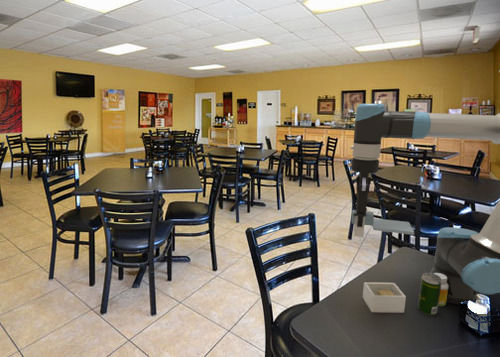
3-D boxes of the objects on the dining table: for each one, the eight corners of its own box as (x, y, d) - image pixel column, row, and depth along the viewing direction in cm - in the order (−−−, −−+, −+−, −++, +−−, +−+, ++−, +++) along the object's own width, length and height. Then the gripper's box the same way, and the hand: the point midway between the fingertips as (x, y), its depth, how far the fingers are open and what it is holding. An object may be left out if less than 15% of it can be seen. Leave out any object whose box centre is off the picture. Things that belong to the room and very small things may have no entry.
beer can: (440, 313, 98) (445, 278, 95) (430, 318, 95) (435, 283, 92) (423, 304, 102) (428, 270, 100) (413, 309, 100) (418, 274, 97)
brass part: (386, 300, 103) (388, 289, 102) (395, 307, 100) (396, 295, 99) (376, 301, 102) (377, 290, 101) (384, 309, 98) (385, 297, 98)
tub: (392, 299, 105) (394, 282, 104) (403, 314, 97) (405, 296, 96) (362, 298, 105) (364, 282, 104) (371, 313, 97) (373, 296, 96)
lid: (408, 224, 95) (409, 213, 95) (413, 234, 87) (415, 222, 87) (351, 218, 100) (352, 207, 99) (351, 227, 92) (352, 215, 91)
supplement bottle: (448, 308, 100) (452, 281, 98) (429, 306, 101) (433, 279, 99) (442, 299, 105) (446, 272, 103) (424, 296, 106) (428, 270, 104)
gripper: (352, 153, 100) (346, 223, 105) (351, 161, 85) (345, 242, 89) (377, 155, 98) (370, 226, 103) (381, 163, 82) (373, 246, 87)
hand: (358, 233), depth 96 cm, fingers closed on lid, 3 cm apart
